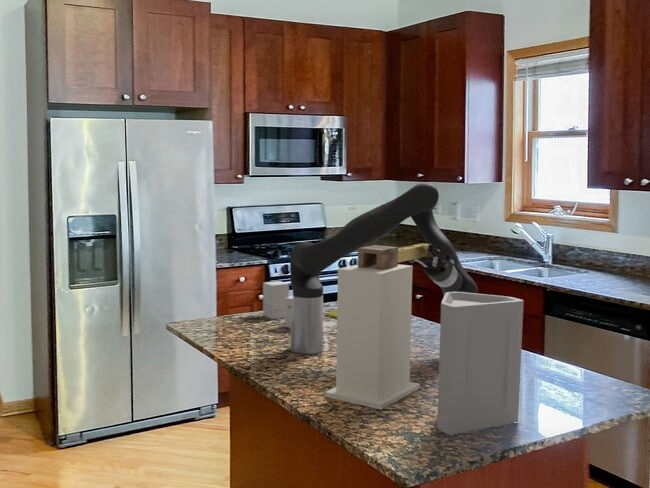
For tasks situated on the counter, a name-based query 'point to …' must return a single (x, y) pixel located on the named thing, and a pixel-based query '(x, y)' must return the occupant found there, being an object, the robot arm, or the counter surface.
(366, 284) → the mount
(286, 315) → the small box
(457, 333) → the triangular grey vase
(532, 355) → the counter surface
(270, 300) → the supplement box
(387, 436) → the counter surface
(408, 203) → the robot arm
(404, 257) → the gold block
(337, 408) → the counter surface
